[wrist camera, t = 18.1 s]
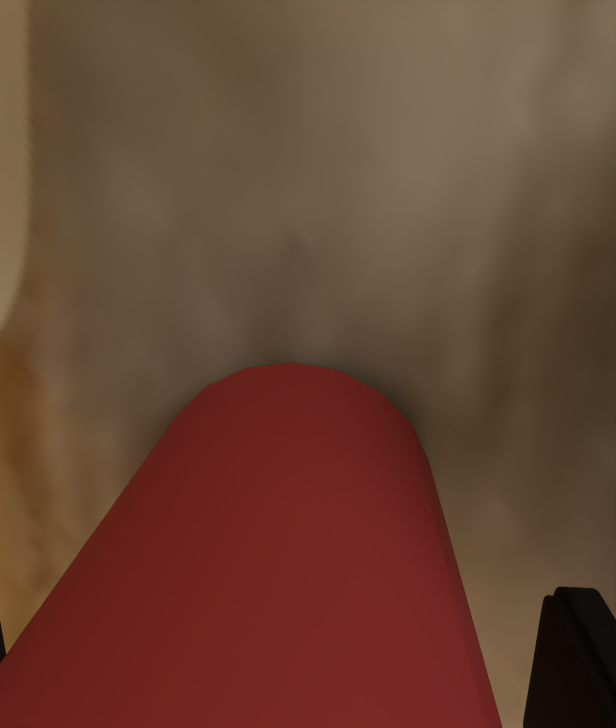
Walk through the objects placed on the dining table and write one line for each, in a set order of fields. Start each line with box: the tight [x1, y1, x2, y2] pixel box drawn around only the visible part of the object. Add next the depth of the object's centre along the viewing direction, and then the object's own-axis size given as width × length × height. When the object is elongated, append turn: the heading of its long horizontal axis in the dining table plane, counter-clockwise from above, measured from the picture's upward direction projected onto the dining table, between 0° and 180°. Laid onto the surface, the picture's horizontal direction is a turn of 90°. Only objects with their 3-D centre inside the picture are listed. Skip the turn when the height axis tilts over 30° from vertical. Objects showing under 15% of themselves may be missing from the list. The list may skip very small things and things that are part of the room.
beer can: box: [0, 362, 502, 728], centre depth 9 cm, size 7×7×12 cm
